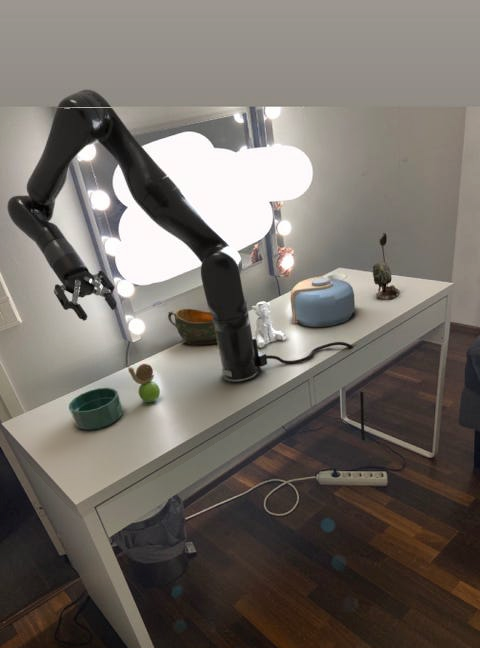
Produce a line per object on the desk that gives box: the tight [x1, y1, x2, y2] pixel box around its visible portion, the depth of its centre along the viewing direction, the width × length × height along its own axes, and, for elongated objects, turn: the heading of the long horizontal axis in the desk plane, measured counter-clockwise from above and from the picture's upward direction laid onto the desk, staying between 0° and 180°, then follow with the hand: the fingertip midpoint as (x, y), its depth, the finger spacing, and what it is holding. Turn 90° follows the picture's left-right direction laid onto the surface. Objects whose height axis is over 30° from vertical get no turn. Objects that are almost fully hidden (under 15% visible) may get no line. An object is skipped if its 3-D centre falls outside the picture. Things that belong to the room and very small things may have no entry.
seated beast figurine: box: [250, 301, 287, 349], centre depth 148 cm, size 10×9×12 cm
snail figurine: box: [125, 363, 161, 403], centre depth 126 cm, size 5×6×12 cm
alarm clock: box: [289, 275, 356, 328], centre depth 157 cm, size 19×20×12 cm
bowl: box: [68, 387, 124, 431], centre depth 124 cm, size 12×12×6 cm
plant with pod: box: [371, 232, 400, 300], centre depth 161 cm, size 8×11×20 cm
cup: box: [167, 308, 218, 346], centre depth 158 cm, size 13×20×10 cm, turn 41°
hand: (100, 313), depth 125 cm, fingers open, 8 cm apart
